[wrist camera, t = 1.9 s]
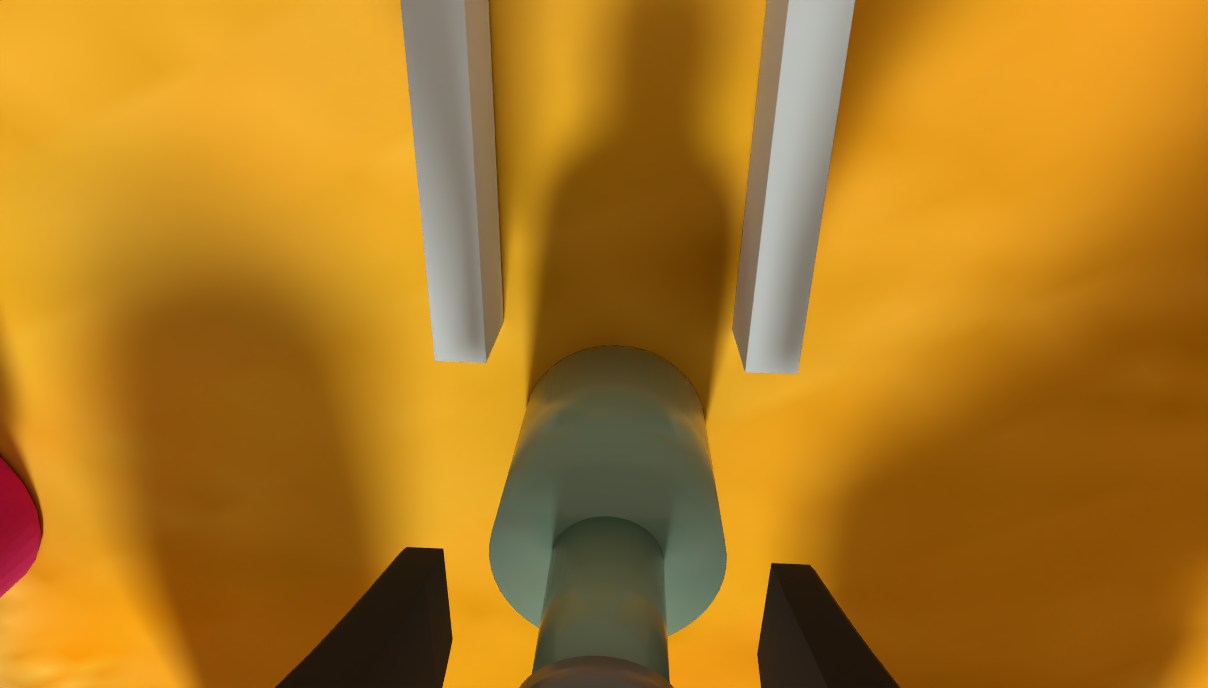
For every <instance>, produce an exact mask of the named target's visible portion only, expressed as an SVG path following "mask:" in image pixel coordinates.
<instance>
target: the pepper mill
mask: <svg viewBox="0 0 1208 688" xmlns="http://www.w3.org/2000/svg"><path fill="white" fill-rule="evenodd" d="M40 540H41V530H40V525H39V519H38V514H37V509H36V507H35V505H34V503H33V501H32V499H31V497H30V495H29V493H28V491H27V489H26V487H25V485H24V484H23V483H22V481H21V480H20V479H19V478H18V476H17V475H16V474H15V473H14V471H13V470H12V469H11V468H10V467H9V466H8V465H7V464H6V462H5V461H4V460H3V459H2V458H1V457H0V597H1V596H2V595H4V594H5V593H6V592H7V591H8V590H9V589H10V588H11V587H12V586H13V585H14V584H15V583H17V582H18V581H19V580H20V579H21V578H22V577H23V576H24V575H25V574H26V573H27V571H28V570H29V569H30V567H31V566H32V564H33V563H34V561H35V560H36V557H37V553H38V549H39V545H40Z"/></svg>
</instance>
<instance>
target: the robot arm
mask: <svg viewBox="0 0 1208 688" xmlns="http://www.w3.org/2000/svg"><path fill="white" fill-rule="evenodd" d="M452 640H453V639H452V629H451V620H450V610H449V600H448V590H447V581H446V571H445V561H444V551H443V549H438V548H415V547H406V548H405V549H404V550H403V551H402V552H400V554H399V555H398V556H397V557H396V558H395V559H394V561H393V562H392V563H391V564H390V565H389V566H388V568H387V569H386V570H385V571H384V572H383V573H382V575H381V576H380V577H379V578H378V579H377V580H376V582H375V583H374V584H373V585H372V586H371V587H370V588H369V590H368V591H367V592H366V593H365V594H364V595H363V596H362V598H361V599H360V600H359V601H358V602H357V603H356V604H355V605H354V607H353V608H352V609H351V610H350V611H349V612H348V613H347V614H346V615H345V616H344V618H343V619H342V620H341V621H340V622H339V623H338V624H337V625H336V626H335V627H334V628H333V629H332V630H331V631H330V633H329V634H328V635H327V636H326V637H325V638H324V639H323V640H322V641H321V642H320V643H319V644H318V645H317V646H316V647H315V649H314V650H313V651H312V652H311V653H310V654H309V655H308V656H307V657H306V658H305V659H304V660H303V661H302V662H301V663H300V664H299V665H298V666H297V667H296V668H295V669H293V670H292V671H291V672H290V673H289V674H288V675H287V676H286V677H285V678H284V679H283V680H282V681H281V682H280V683H279V684H278V685H277V686H276V687H275V688H442V686H443V682H444V677H445V673H446V668H447V663H448V659H449V654H450V649H451V644H452ZM757 655H758V664H759V673H760V681H761V688H900V687H899V686H898V684H897V683H896V682H895V680H894V679H893V678H892V677H891V675H890V674H889V673H888V671H887V670H886V669H885V668H884V666H883V665H882V664H881V662H880V661H879V660H878V659H877V657H876V656H875V655H874V653H873V652H872V651H871V649H870V648H869V647H868V645H867V644H866V643H865V641H864V640H863V639H862V637H861V636H860V635H859V633H858V632H857V630H856V629H855V628H854V626H853V625H852V623H851V622H850V621H849V619H848V618H847V617H846V615H845V614H844V612H843V611H842V609H841V608H840V607H839V605H838V604H837V602H836V601H835V599H834V598H833V596H832V595H831V594H830V592H829V591H828V589H827V588H826V586H825V585H824V583H823V582H822V580H821V579H820V577H819V576H818V574H817V573H816V571H815V570H814V569H813V568H812V567H811V566H810V565H803V564H780V563H771V570H770V576H769V583H768V589H767V595H766V602H765V608H764V615H763V621H762V627H761V634H760V640H759V647H758V653H757Z"/></svg>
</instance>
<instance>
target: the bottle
mask: <svg viewBox="0 0 1208 688" xmlns="http://www.w3.org/2000/svg"><path fill="white" fill-rule="evenodd" d="M489 558H490V565H491V570H492V573H493V576H494V579H495V581H496V583H497V585H498V587H499V589H500V591H501V593H502V594H503V595H504V597H505V598H506V600H507V601H508V602H509V603H510V605H511V606H512V607H513V608H514V609H515V610H516V611H517V612H518V613H519V614H521V615H522V616H523V617H524V618H525V619H526V620H528V621H529V622H531V623H532V624H534V625H535V626H537V627H538V628H539V633H538V639H537V645H536V652H535V658H534V664H533V670H532V675H531V676H529V677H528V678H527V679H526V680H525V681H524V682H523V683H522V685H521V686H520V688H673V686H672V685H671V684H670V680H669V659H668V639H667V636H669V635H671V634H673V633H675V632H677V631H679V630H681V629H682V628H684V627H686V626H687V625H689V624H690V623H691V622H693V621H694V620H696V619H697V618H698V617H699V616H700V615H701V614H702V613H703V612H704V611H705V610H706V609H707V608H708V606H709V605H710V604H711V603H712V601H713V600H714V598H715V597H716V595H717V593H718V591H719V590H720V587H721V585H722V582H723V579H724V575H725V570H726V560H727V553H726V546H725V539H724V533H723V527H722V521H721V515H720V509H719V503H718V497H717V491H716V485H715V479H714V473H713V467H712V461H711V455H710V449H709V443H708V437H707V431H706V425H705V419H704V413H703V408H702V405H701V401H700V399H699V396H698V394H697V392H696V390H695V388H694V387H693V385H692V384H691V382H690V381H689V380H688V379H687V378H686V376H685V375H684V374H683V373H682V372H681V371H680V370H679V369H677V368H676V367H675V366H674V365H673V364H671V363H670V362H668V361H667V360H665V359H663V358H661V357H659V356H657V355H655V354H653V353H651V352H648V351H645V350H642V349H638V348H633V347H627V346H600V347H593V348H589V349H585V350H582V351H579V352H576V353H574V354H572V355H569V356H568V357H566V358H564V359H562V360H560V361H559V362H558V363H556V364H555V365H554V366H552V367H551V368H550V369H549V370H548V371H547V372H546V373H545V374H544V375H543V376H542V377H541V379H540V380H539V381H538V383H537V384H536V386H535V388H534V390H533V391H532V393H531V396H530V399H529V402H528V405H527V408H526V412H525V415H524V419H523V423H522V426H521V430H520V433H519V437H518V440H517V444H516V447H515V451H514V455H513V458H512V462H511V465H510V469H509V472H508V476H507V480H506V483H505V487H504V490H503V494H502V497H501V501H500V504H499V508H498V512H497V515H496V519H495V522H494V526H493V529H492V533H491V539H490V544H489Z"/></svg>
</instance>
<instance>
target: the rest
mask: <svg viewBox="0 0 1208 688" xmlns="http://www.w3.org/2000/svg"><path fill="white" fill-rule="evenodd" d="M854 4H855V0H767V5H766V15H765V24H764V34H763V43H762V53H761V62H760V72H759V81H758V91H757V100H756V110H755V119H754V129H753V138H752V147H751V157H750V166H749V176H748V185H747V195H746V204H745V214H744V223H743V233H742V242H741V252H740V261H739V271H738V280H737V289H736V299H735V308H734V318H733V327H732V330H733V334H734V337H735V340H736V344H737V347H738V350H739V354H740V357H741V360H742V364H743V367H744V370H745V372H756V373H785V374H798V368H799V362H800V355H801V349H802V342H803V336H804V329H805V323H806V316H807V310H808V303H809V297H810V290H811V284H812V277H813V271H814V264H815V258H816V251H817V245H818V238H819V232H820V225H821V219H822V212H823V206H824V199H825V193H826V186H827V180H828V173H829V167H830V160H831V154H832V147H833V141H834V134H835V128H836V121H837V115H838V108H839V102H840V95H841V89H842V82H843V76H844V69H845V63H846V56H847V50H848V43H849V37H850V30H851V24H852V17H853V11H854ZM401 10H402V20H403V31H404V41H405V52H406V62H407V73H408V83H409V94H410V105H411V115H412V126H413V136H414V147H415V157H416V168H417V178H418V189H419V199H420V210H421V220H422V231H423V241H424V252H425V262H426V273H427V283H428V294H429V304H430V315H431V325H432V336H433V346H434V357H435V361H447V362H476V363H486V362H487V359H488V357H489V355H490V353H491V350H492V348H493V346H494V343H495V341H496V339H497V336H498V334H499V332H500V329H501V327H502V325H503V322H504V317H503V295H502V274H501V253H500V231H499V210H498V189H497V167H496V146H495V125H494V103H493V82H492V61H491V40H490V18H489V0H401Z"/></svg>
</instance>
